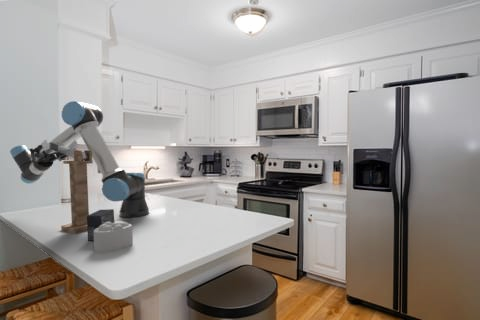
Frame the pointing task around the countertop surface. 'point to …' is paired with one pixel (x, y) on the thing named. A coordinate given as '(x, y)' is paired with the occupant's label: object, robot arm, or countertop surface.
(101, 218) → the small box
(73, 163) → the stand
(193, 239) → the countertop surface
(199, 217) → the countertop surface
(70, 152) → the lever
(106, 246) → the grey rounded container
